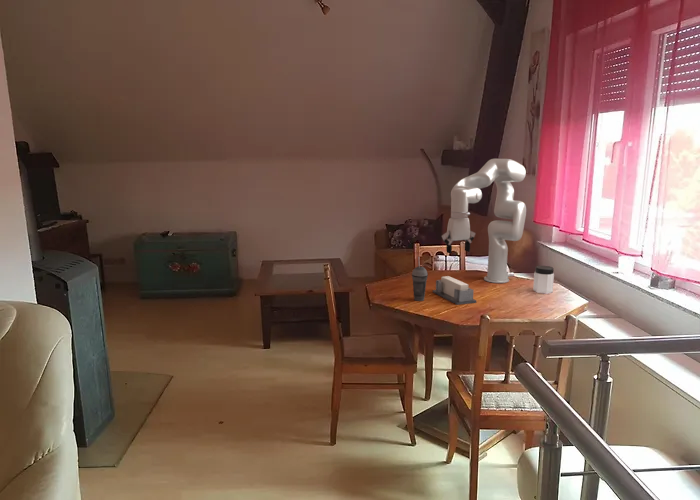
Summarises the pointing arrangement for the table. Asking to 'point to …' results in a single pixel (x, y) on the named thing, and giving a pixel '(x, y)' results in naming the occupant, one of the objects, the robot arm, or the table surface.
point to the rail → (452, 285)
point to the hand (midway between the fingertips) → (458, 252)
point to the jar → (543, 279)
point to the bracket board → (455, 295)
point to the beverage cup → (419, 282)
